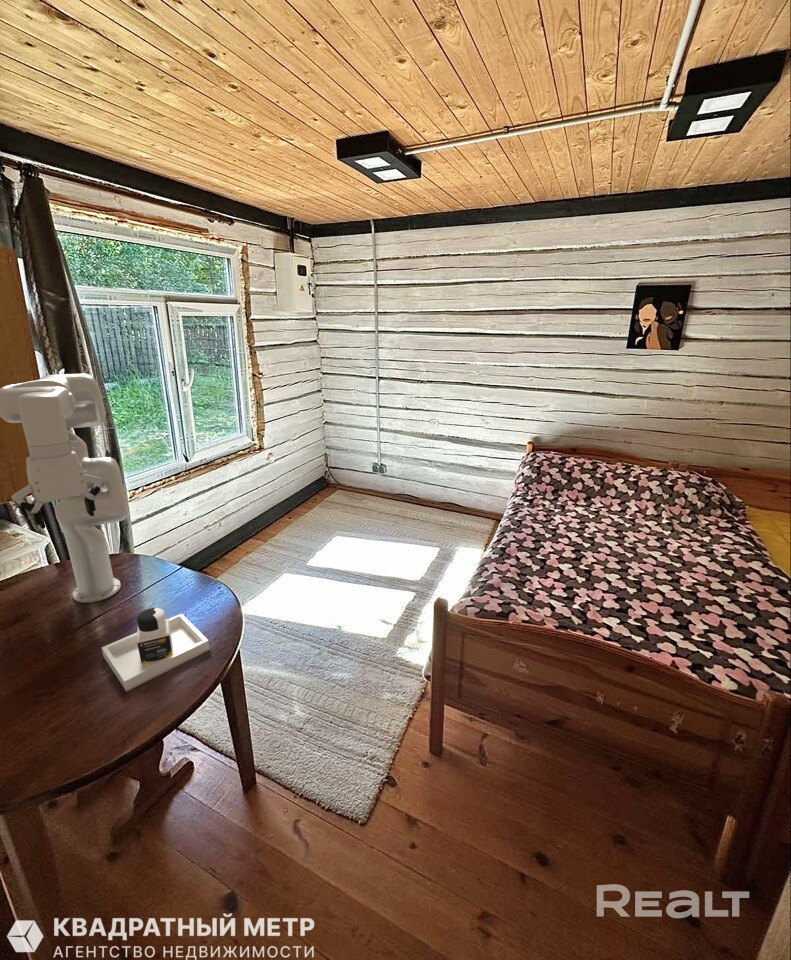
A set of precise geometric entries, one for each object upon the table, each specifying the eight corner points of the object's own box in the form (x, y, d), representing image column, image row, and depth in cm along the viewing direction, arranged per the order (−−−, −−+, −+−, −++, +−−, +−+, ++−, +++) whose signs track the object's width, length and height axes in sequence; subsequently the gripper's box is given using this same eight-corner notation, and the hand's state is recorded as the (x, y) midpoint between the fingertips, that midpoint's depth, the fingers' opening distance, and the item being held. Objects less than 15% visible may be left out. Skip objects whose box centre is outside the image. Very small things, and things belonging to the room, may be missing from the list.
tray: (103, 657, 118) (101, 647, 117) (182, 622, 132) (181, 613, 131) (126, 691, 108) (124, 681, 107) (209, 649, 122) (208, 640, 121)
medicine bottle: (141, 665, 115) (133, 625, 111) (141, 647, 121) (134, 608, 117) (173, 657, 118) (166, 617, 114) (172, 640, 124) (165, 601, 120)
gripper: (90, 439, 111) (103, 505, 117) (-3, 453, 100) (17, 526, 105) (100, 446, 107) (113, 514, 112) (4, 461, 95) (25, 537, 101)
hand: (67, 520), depth 109 cm, fingers open, 9 cm apart
